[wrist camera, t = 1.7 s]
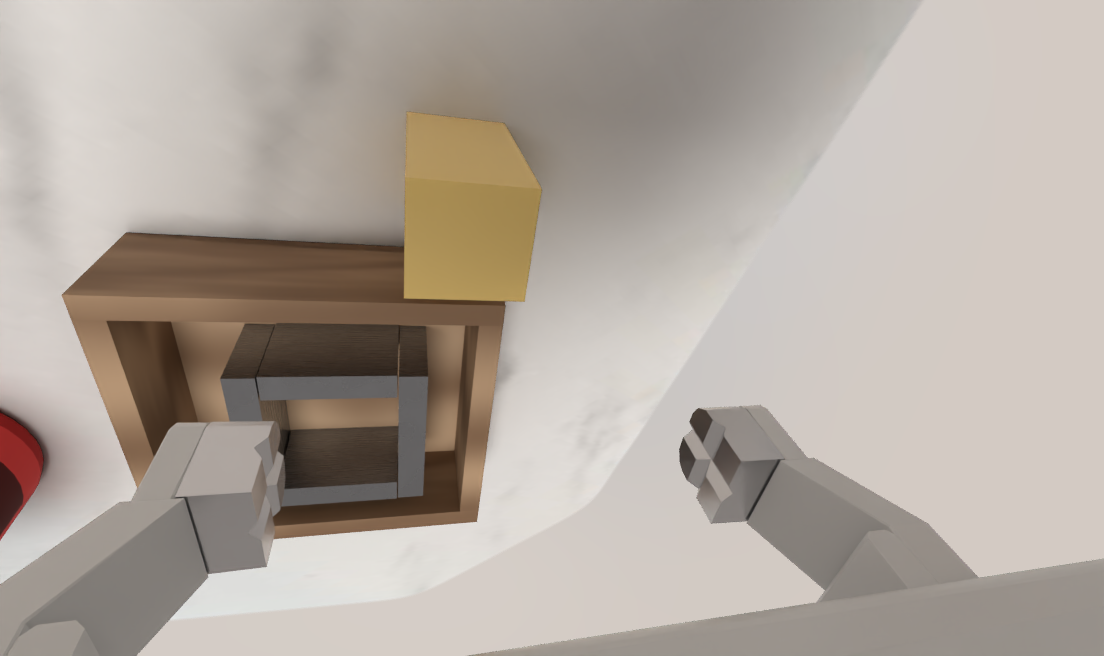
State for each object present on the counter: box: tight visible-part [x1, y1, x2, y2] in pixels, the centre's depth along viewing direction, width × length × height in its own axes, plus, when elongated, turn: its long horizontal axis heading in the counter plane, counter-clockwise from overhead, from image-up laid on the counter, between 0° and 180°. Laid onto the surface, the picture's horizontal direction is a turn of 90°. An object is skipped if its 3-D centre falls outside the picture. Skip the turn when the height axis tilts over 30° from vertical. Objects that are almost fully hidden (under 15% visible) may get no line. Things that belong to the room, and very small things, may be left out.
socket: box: [220, 323, 428, 507], centre depth 26 cm, size 8×8×4 cm
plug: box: [404, 112, 542, 302], centre depth 20 cm, size 4×4×8 cm
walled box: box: [62, 233, 505, 539], centre depth 25 cm, size 14×15×5 cm
